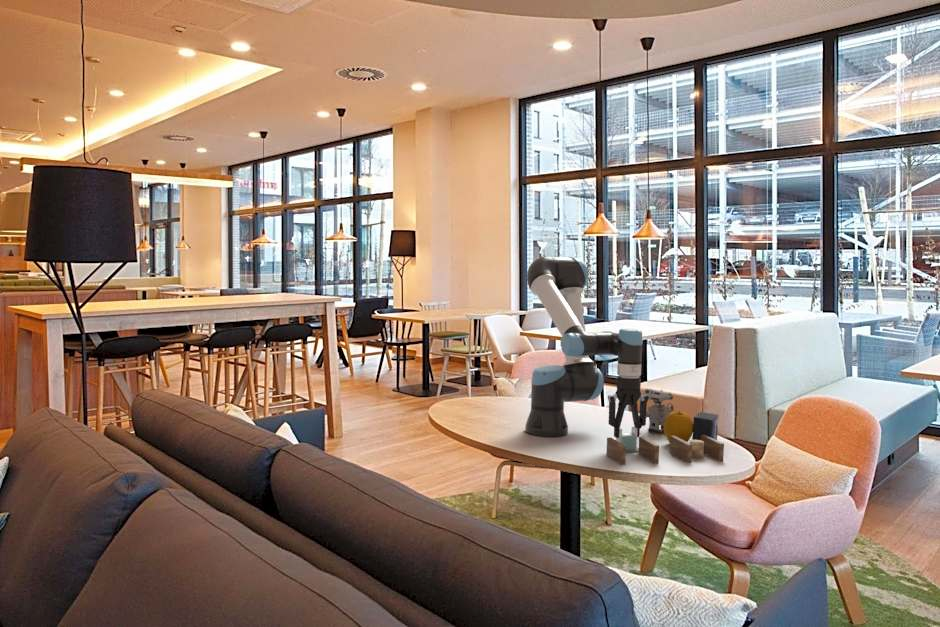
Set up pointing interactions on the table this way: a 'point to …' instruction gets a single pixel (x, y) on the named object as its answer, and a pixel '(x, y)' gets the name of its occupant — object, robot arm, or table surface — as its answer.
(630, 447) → the letter cube
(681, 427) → the apple
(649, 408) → the figurine
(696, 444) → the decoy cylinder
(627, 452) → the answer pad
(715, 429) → the small box
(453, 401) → the table surface
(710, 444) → the divider rack
